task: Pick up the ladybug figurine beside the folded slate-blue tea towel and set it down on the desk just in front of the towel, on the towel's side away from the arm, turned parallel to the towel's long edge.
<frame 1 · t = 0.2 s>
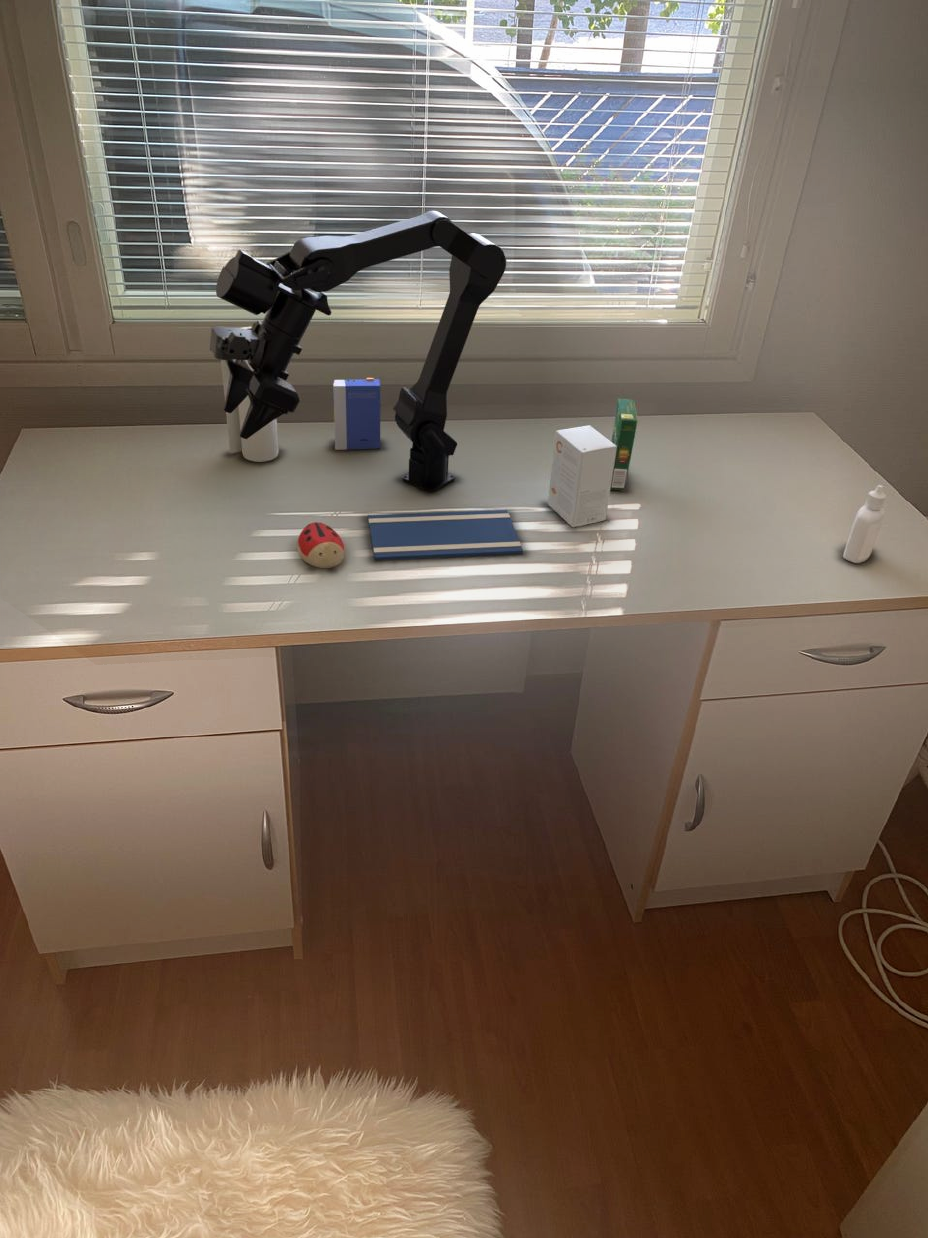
hand: (234, 424, 141), 15 cm above the table, tool tilted 30°, fingers open, 9 cm apart
paper towel roll: (258, 454, 166), on the table
small box: (575, 513, 155), on the table
ladybug figurine: (321, 554, 142), on the table
coffee box: (615, 481, 165), on the table
eye dropper bottle: (856, 556, 149), on the table
towel: (443, 535, 147), on the table
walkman: (357, 446, 170), on the table
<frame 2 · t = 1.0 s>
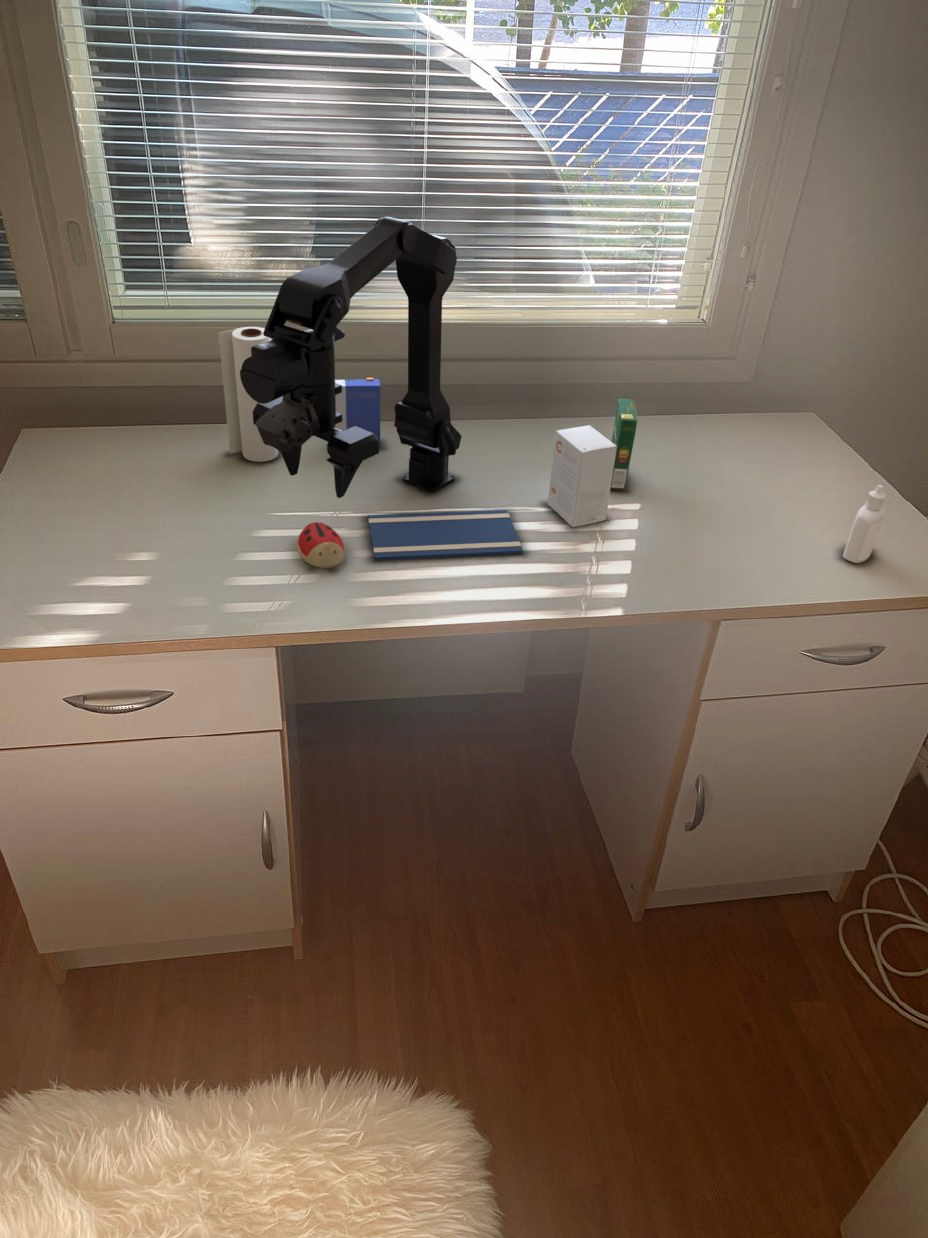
hand: (316, 485, 135), 11 cm above the table, tool pointing down, fingers open, 9 cm apart
nothing on the table moved.
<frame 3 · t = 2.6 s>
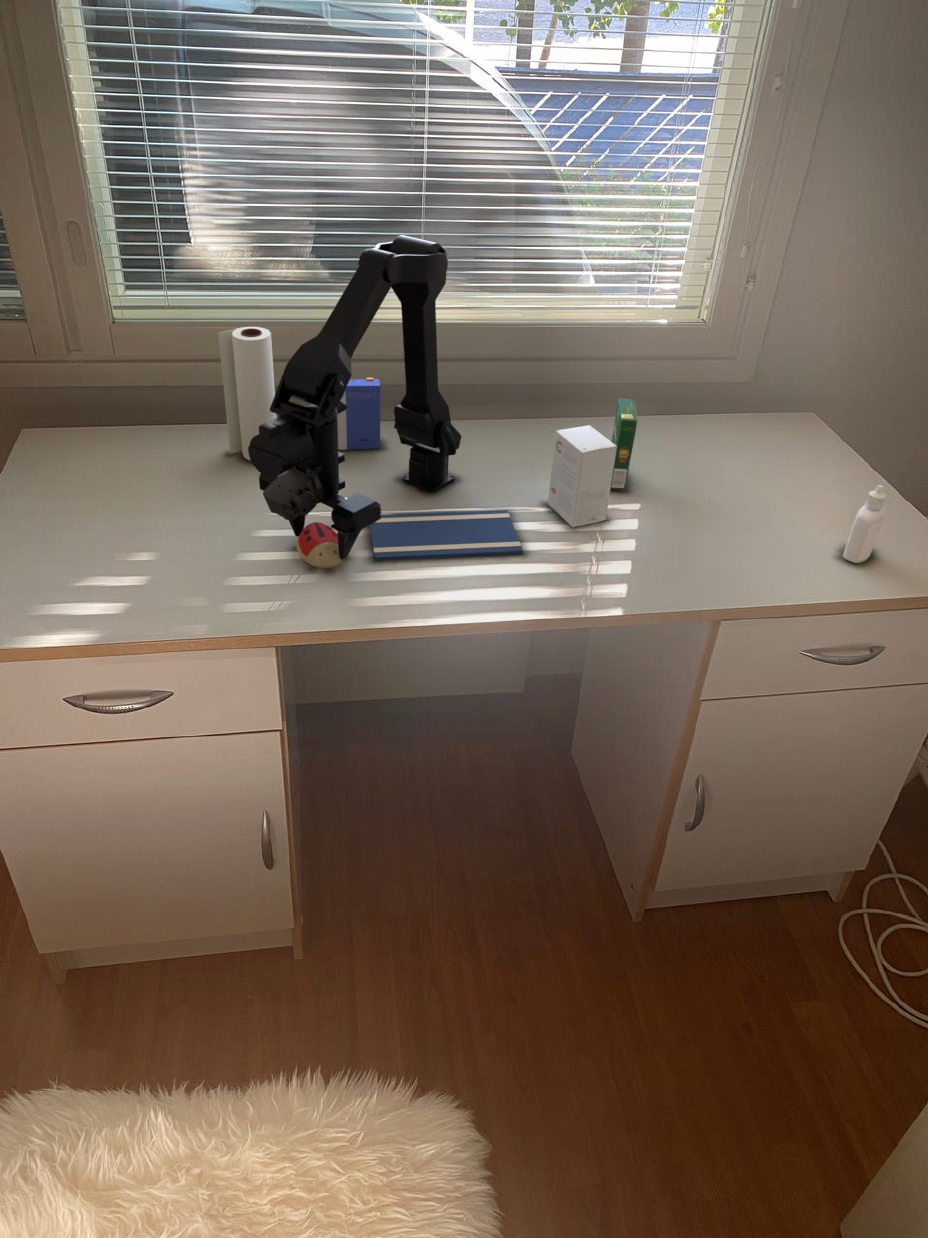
hand: (320, 546, 141), 1 cm above the table, tool pointing down, fingers closed on ladybug figurine, 9 cm apart
ladybug figurine: (321, 554, 142), on the table, touching gripper
everything else where it was.
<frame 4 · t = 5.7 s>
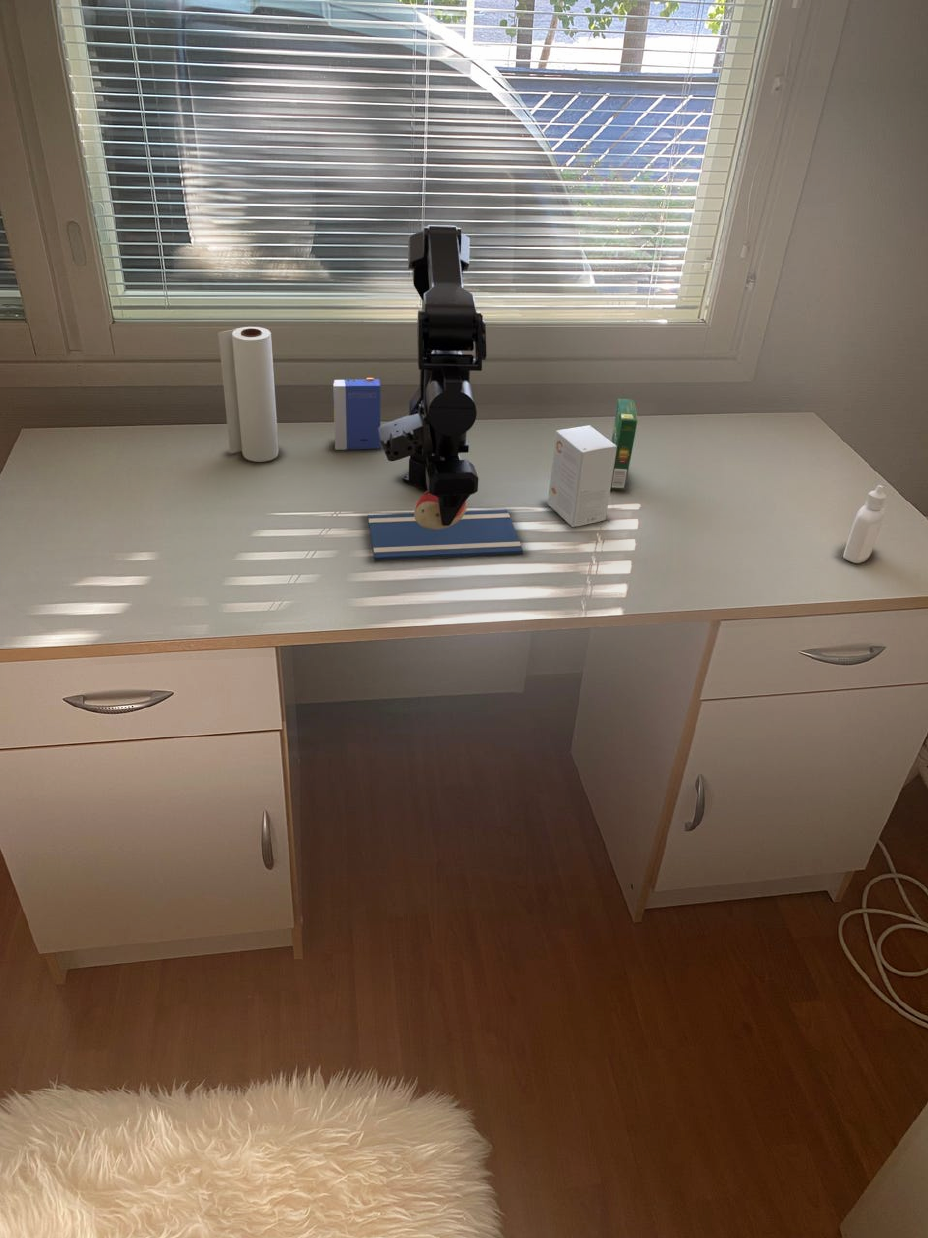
hand: (441, 507, 133), 11 cm above the table, tool pointing down, fingers closed on ladybug figurine, 9 cm apart
ladybug figurine: (440, 516, 133), point 9 cm above the table, touching gripper
everything else where it was.
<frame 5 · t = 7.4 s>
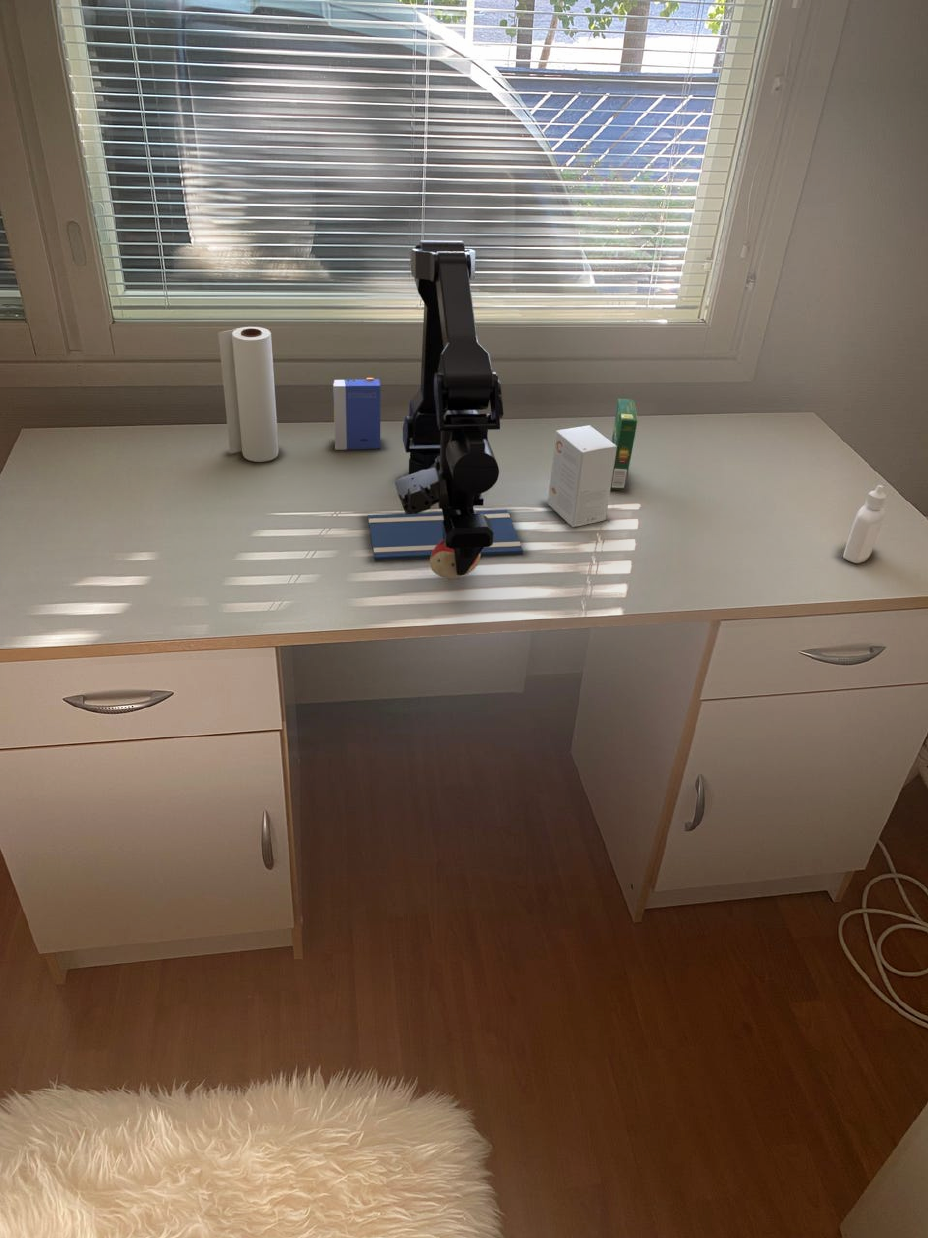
hand: (455, 556, 137), 3 cm above the table, tool pointing down, fingers closed on ladybug figurine, 9 cm apart
ladybug figurine: (455, 564, 137), point 2 cm above the table, touching gripper
everything else where it was.
when the fingers open (1 cm above the table, at t = 8.8 s): ladybug figurine stays where it is, on the table.
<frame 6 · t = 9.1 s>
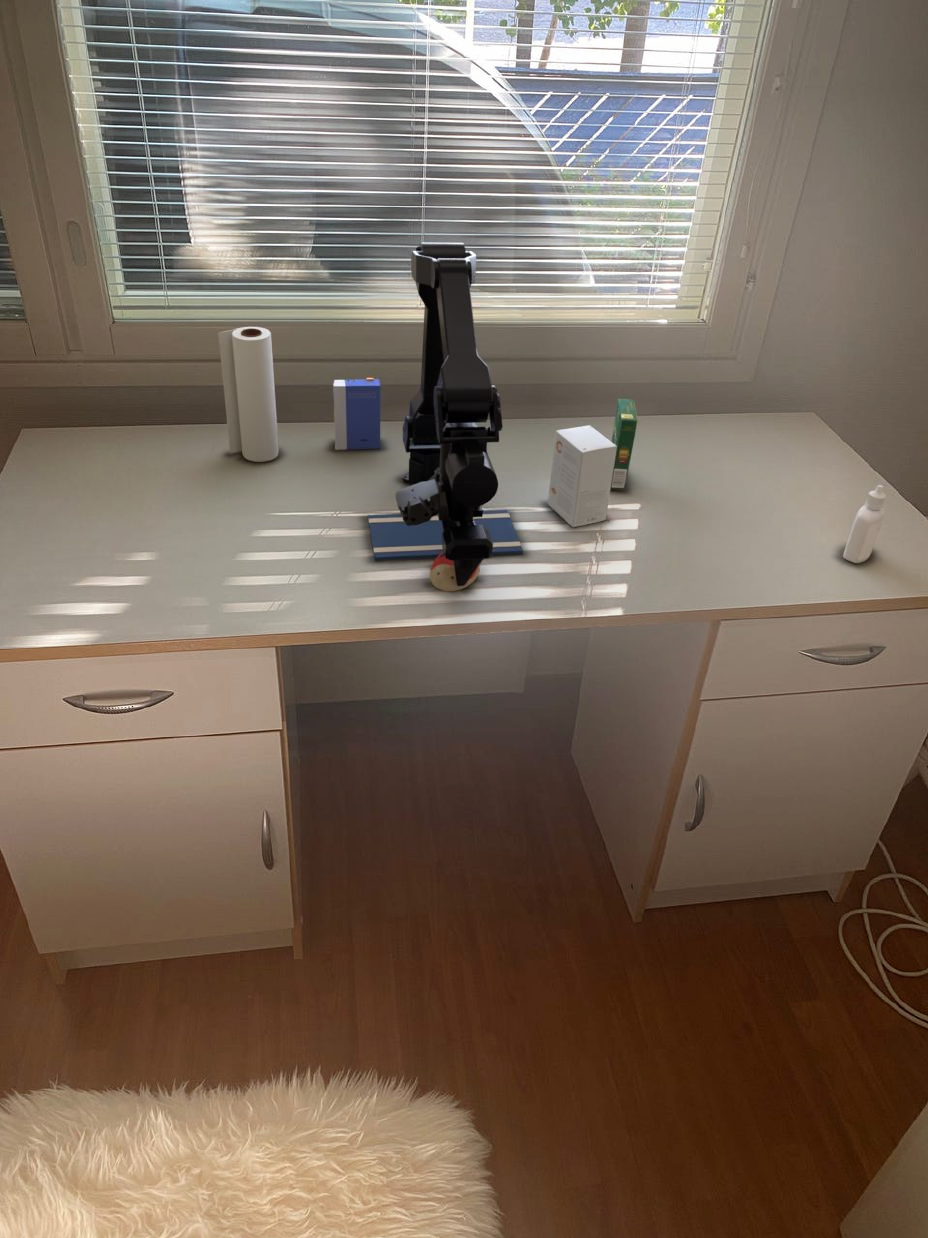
hand: (455, 567, 138), 2 cm above the table, tool pointing down, fingers open, 9 cm apart
ladybug figurine: (454, 577, 139), on the table
everything else where it was.
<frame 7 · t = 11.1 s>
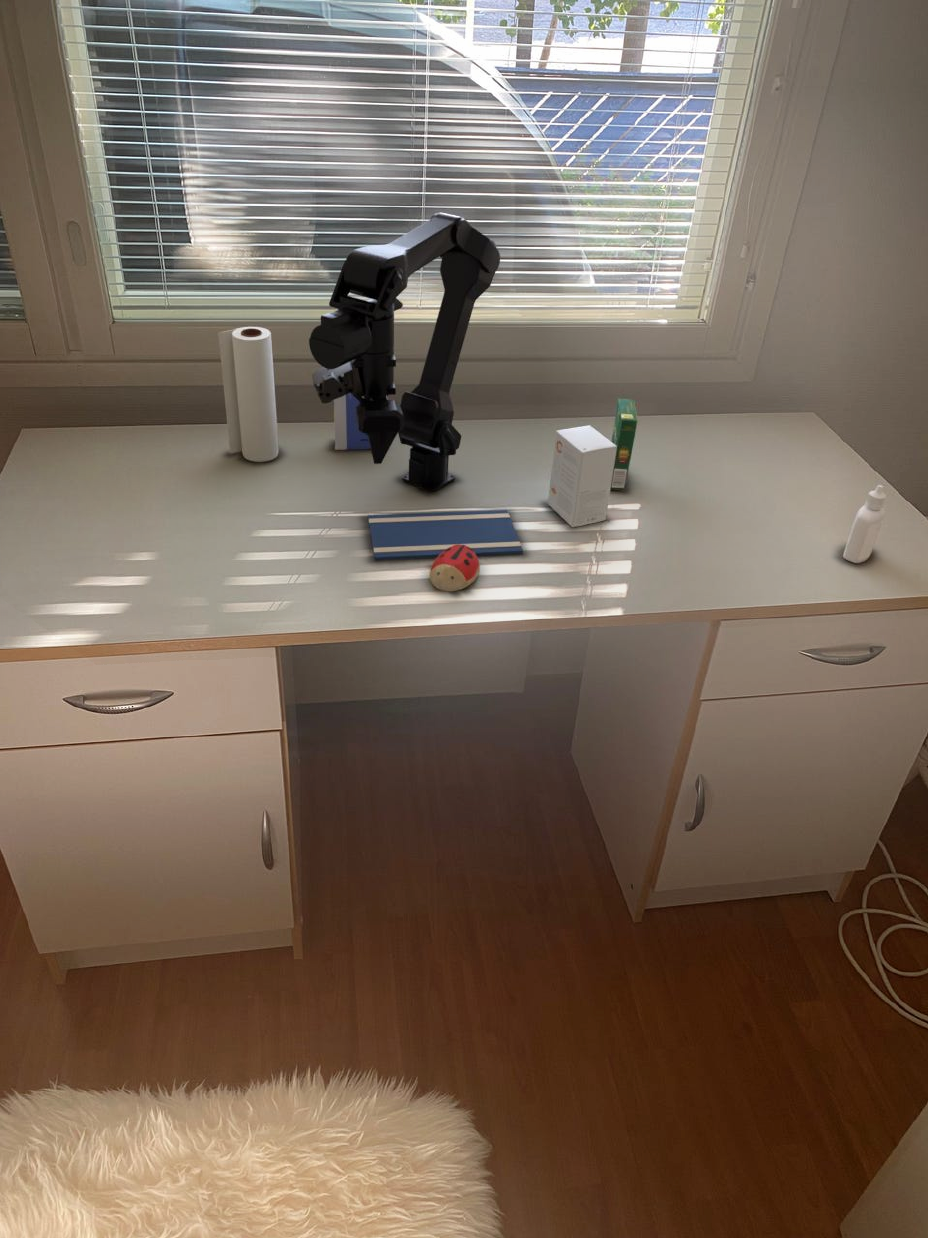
hand: (373, 448, 144), 12 cm above the table, tool pointing down, fingers open, 9 cm apart
nothing on the table moved.
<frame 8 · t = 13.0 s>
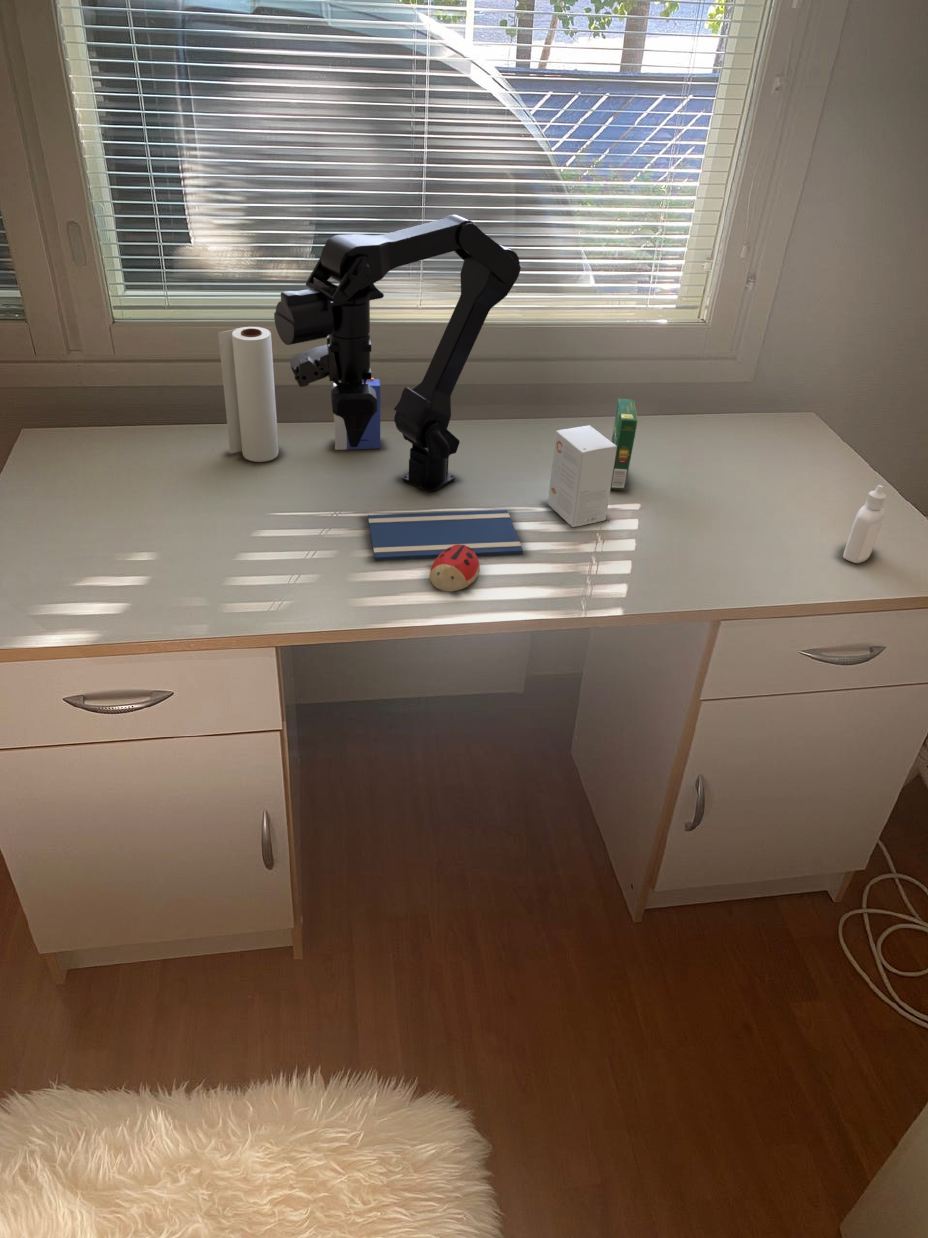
hand: (351, 432, 147), 12 cm above the table, tool pointing down, fingers open, 9 cm apart
nothing on the table moved.
at the end: ladybug figurine 0.1 cm from the target spot, on the table; ladybug figurine touching table; ladybug figurine tilted 0° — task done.
